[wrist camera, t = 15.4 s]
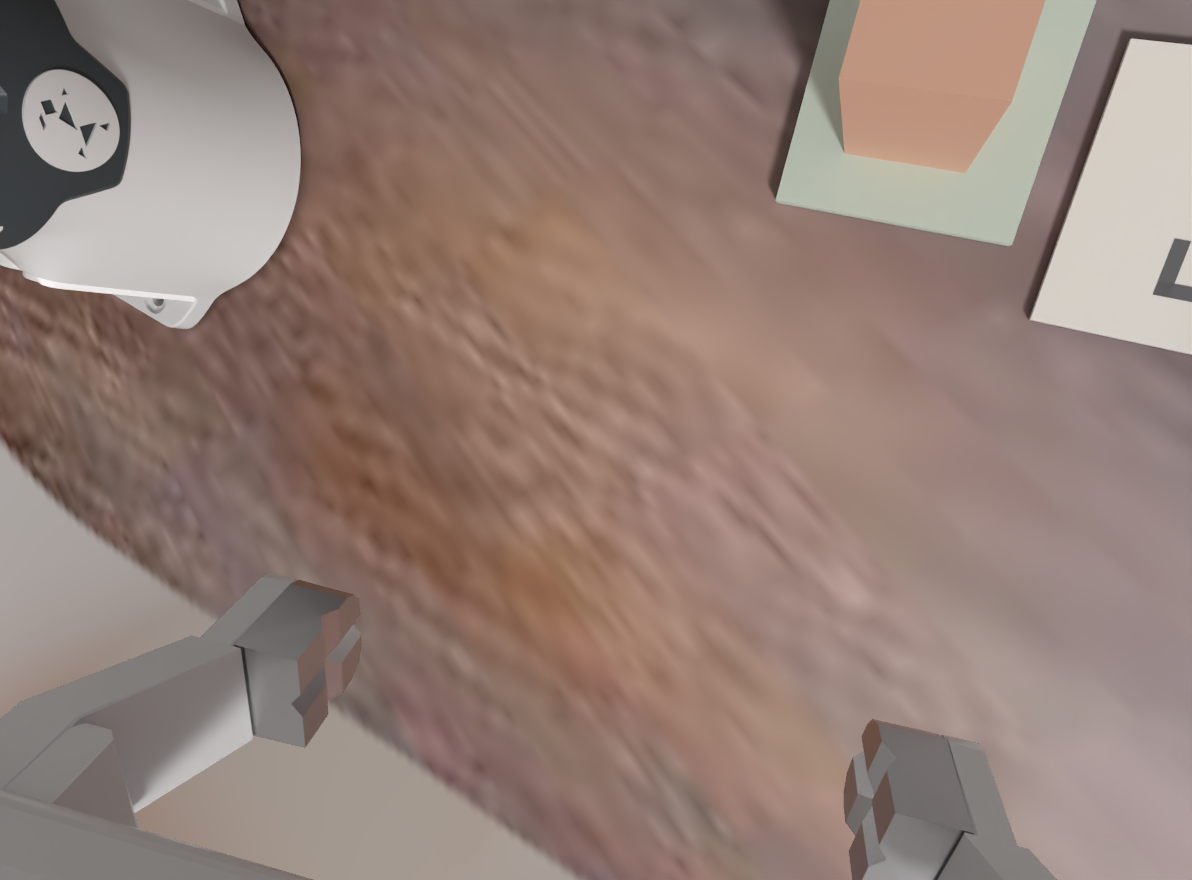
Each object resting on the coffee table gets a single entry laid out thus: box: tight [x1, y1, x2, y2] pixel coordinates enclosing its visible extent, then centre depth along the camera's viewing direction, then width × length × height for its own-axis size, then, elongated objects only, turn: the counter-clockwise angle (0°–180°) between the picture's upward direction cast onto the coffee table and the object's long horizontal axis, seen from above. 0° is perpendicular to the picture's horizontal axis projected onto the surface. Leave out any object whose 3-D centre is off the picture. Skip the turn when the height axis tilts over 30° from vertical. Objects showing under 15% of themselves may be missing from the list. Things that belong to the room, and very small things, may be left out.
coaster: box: [776, 0, 1096, 246], centre depth 28 cm, size 9×9×1 cm
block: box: [839, 0, 1045, 173], centre depth 23 cm, size 4×4×9 cm
